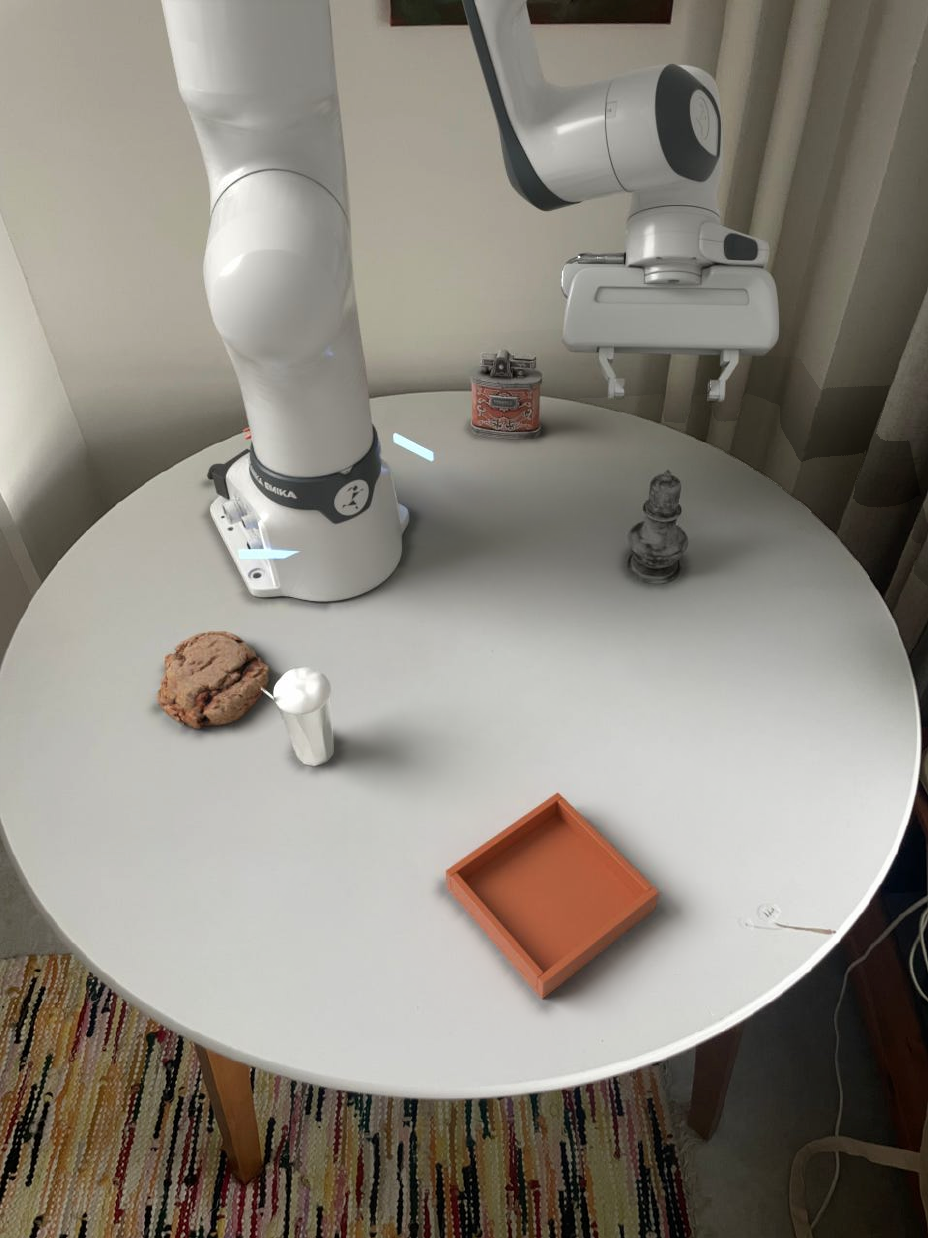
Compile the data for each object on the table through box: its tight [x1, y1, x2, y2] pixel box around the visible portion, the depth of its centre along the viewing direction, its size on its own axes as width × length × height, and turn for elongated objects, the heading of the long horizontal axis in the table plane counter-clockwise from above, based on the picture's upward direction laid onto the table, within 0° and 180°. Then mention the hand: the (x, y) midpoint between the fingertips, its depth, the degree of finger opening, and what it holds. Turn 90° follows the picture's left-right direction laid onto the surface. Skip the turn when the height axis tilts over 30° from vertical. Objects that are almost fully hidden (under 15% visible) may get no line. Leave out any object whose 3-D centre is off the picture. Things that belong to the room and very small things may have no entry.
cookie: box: [157, 630, 270, 730], centre depth 92 cm, size 10×11×3 cm
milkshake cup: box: [260, 667, 335, 767], centre depth 84 cm, size 4×5×10 cm
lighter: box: [469, 349, 543, 440], centre depth 115 cm, size 8×3×10 cm, turn 80°
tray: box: [445, 792, 660, 1000], centre depth 77 cm, size 11×11×2 cm
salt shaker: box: [626, 469, 689, 585], centre depth 98 cm, size 6×6×12 cm
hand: (665, 399), depth 98 cm, fingers open, 8 cm apart
